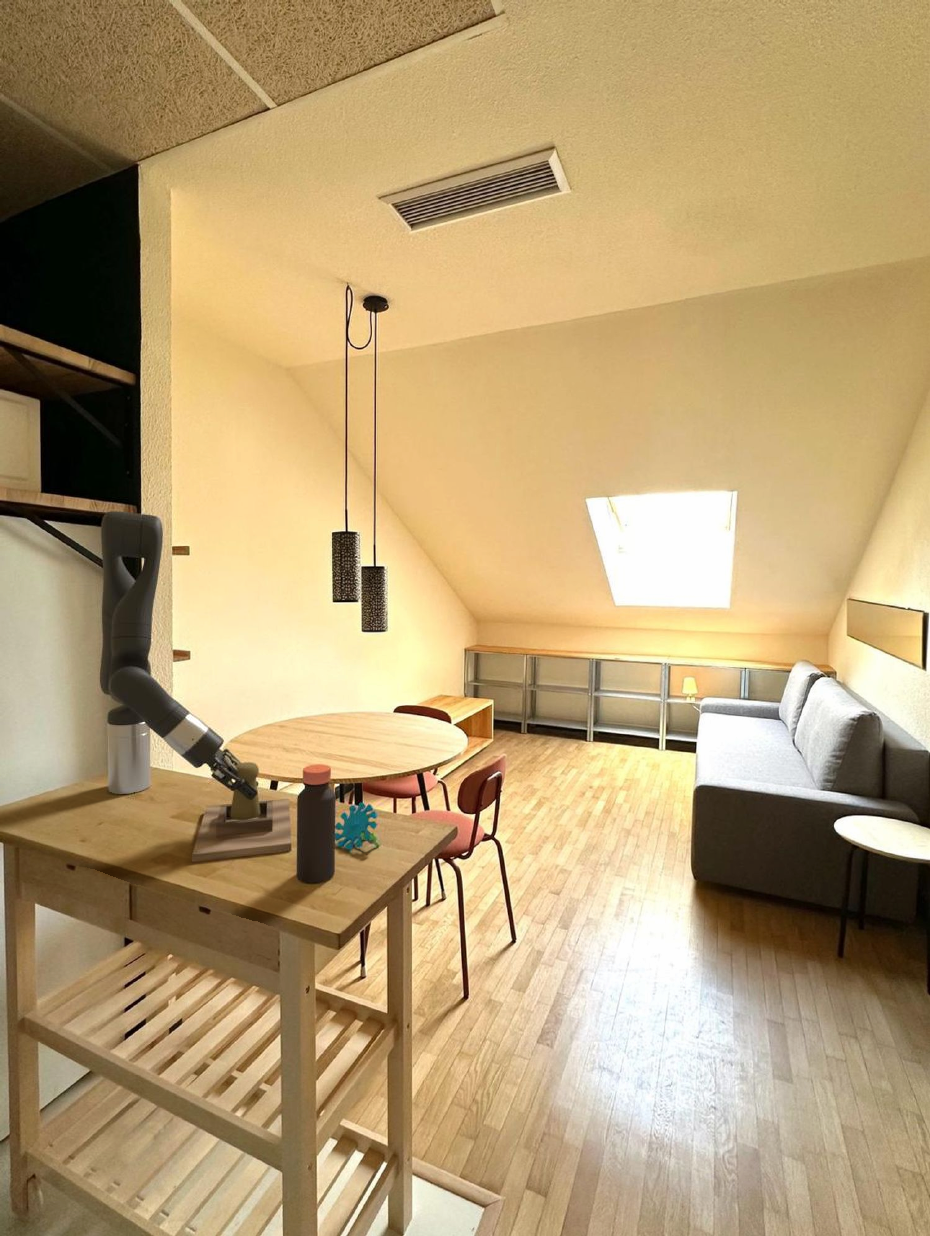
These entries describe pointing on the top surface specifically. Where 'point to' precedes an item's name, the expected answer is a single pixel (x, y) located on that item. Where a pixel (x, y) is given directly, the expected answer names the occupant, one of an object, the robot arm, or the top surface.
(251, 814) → the cork
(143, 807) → the top surface
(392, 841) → the top surface
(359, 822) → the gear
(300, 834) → the bottle
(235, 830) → the jig board
